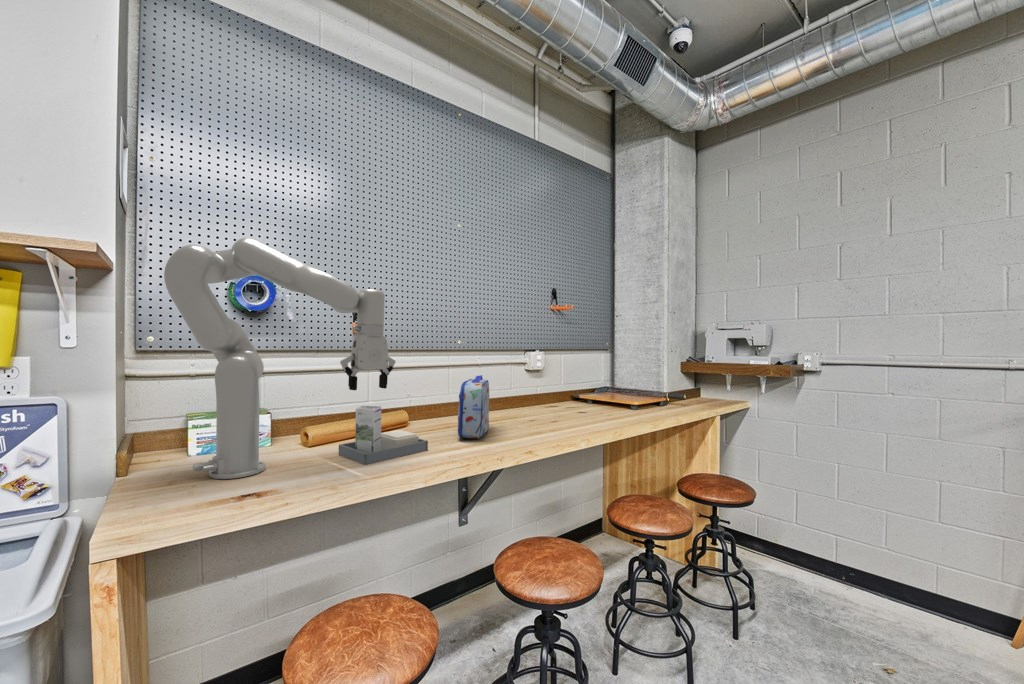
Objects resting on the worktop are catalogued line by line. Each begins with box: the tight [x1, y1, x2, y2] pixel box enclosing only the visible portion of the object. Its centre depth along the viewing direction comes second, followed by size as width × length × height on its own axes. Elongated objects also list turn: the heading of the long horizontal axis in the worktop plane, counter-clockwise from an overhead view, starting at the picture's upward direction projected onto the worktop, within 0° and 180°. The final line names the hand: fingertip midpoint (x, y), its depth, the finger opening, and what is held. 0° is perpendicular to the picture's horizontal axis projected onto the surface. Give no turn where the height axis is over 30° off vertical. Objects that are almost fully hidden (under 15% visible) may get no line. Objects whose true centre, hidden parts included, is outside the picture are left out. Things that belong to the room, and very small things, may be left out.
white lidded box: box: [381, 429, 420, 450], centre depth 133 cm, size 8×10×5 cm
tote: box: [338, 438, 429, 466], centre depth 129 cm, size 21×15×4 cm
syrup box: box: [354, 405, 382, 453], centre depth 125 cm, size 6×6×14 cm
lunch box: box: [457, 374, 490, 439], centre depth 160 cm, size 28×10×22 cm, turn 179°
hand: (368, 388), depth 125 cm, fingers open, 9 cm apart
